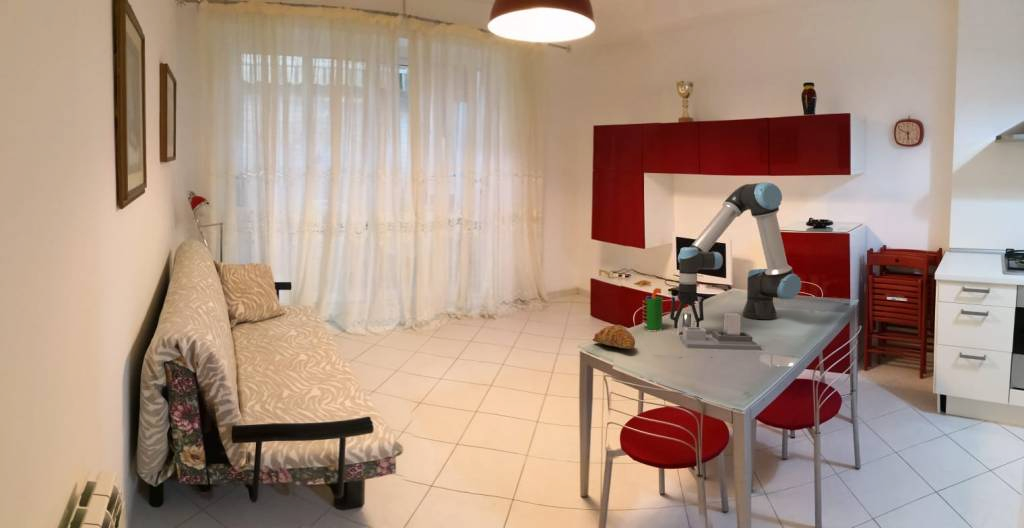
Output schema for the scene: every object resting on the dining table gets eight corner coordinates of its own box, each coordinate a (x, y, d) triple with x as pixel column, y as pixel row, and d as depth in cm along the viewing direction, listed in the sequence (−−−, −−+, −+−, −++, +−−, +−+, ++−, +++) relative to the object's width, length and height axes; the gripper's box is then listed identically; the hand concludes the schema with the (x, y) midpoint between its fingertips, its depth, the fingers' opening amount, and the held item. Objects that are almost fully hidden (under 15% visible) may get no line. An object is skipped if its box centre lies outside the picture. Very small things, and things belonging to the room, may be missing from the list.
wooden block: (736, 337, 256) (736, 313, 255) (739, 340, 250) (740, 315, 249) (723, 337, 256) (724, 313, 255) (726, 339, 250) (727, 315, 249)
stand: (747, 341, 261) (748, 328, 261) (760, 349, 243) (761, 336, 243) (679, 339, 264) (679, 326, 263) (687, 347, 246) (687, 333, 246)
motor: (638, 330, 285) (639, 286, 284) (657, 330, 286) (659, 287, 285) (645, 334, 275) (646, 289, 274) (665, 334, 276) (666, 289, 274)
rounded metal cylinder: (689, 336, 272) (690, 313, 271) (691, 337, 268) (691, 314, 268) (681, 335, 272) (682, 313, 272) (682, 337, 269) (683, 314, 268)
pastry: (586, 343, 255) (586, 323, 254) (607, 339, 263) (607, 320, 262) (626, 351, 239) (626, 330, 238) (647, 347, 247) (647, 327, 247)
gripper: (709, 282, 272) (707, 335, 273) (663, 281, 273) (662, 334, 275) (713, 284, 264) (711, 338, 266) (666, 283, 266) (664, 337, 267)
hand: (686, 336), depth 270 cm, fingers open, 6 cm apart
